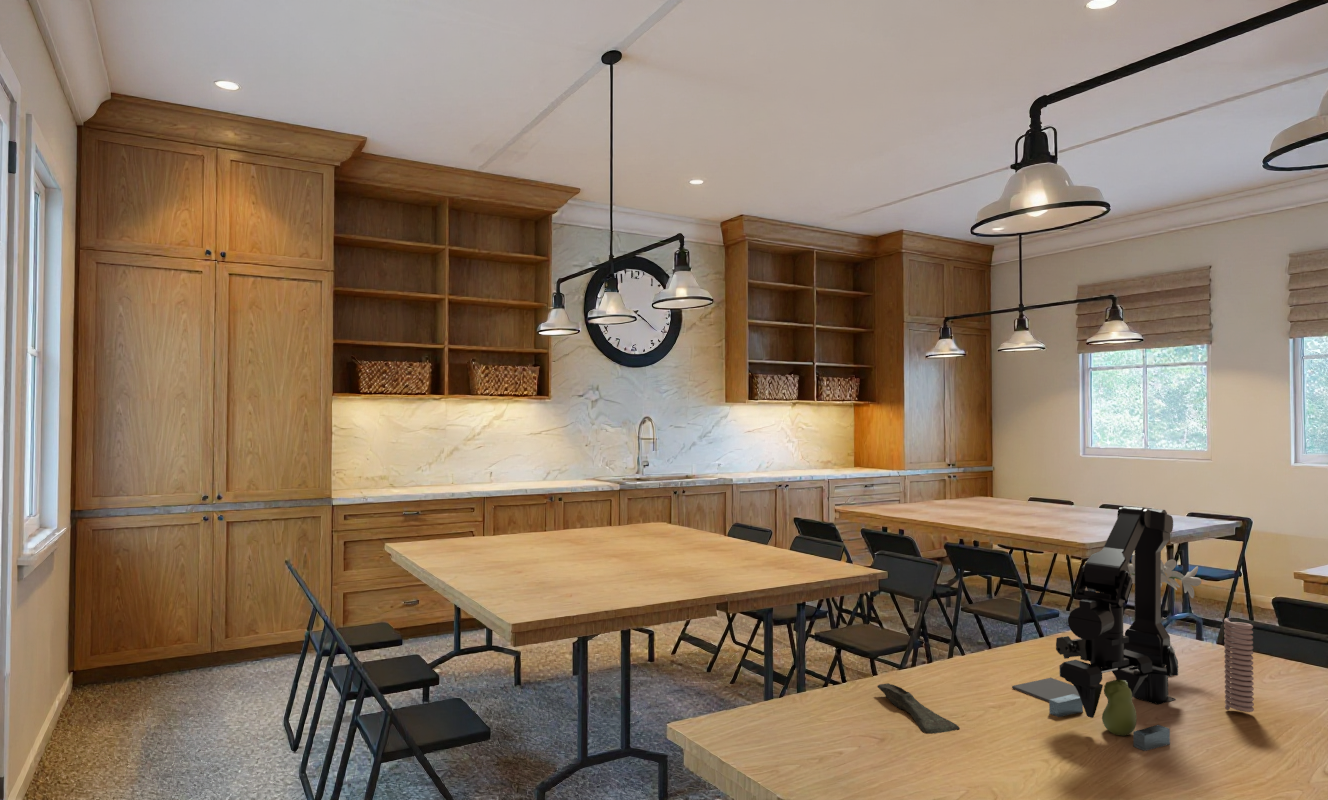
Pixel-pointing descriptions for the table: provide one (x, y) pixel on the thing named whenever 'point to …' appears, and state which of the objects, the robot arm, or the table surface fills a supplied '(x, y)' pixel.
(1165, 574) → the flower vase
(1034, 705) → the table surface
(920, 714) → the tool
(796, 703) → the table surface
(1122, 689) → the pear
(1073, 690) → the mat
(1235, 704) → the coil
